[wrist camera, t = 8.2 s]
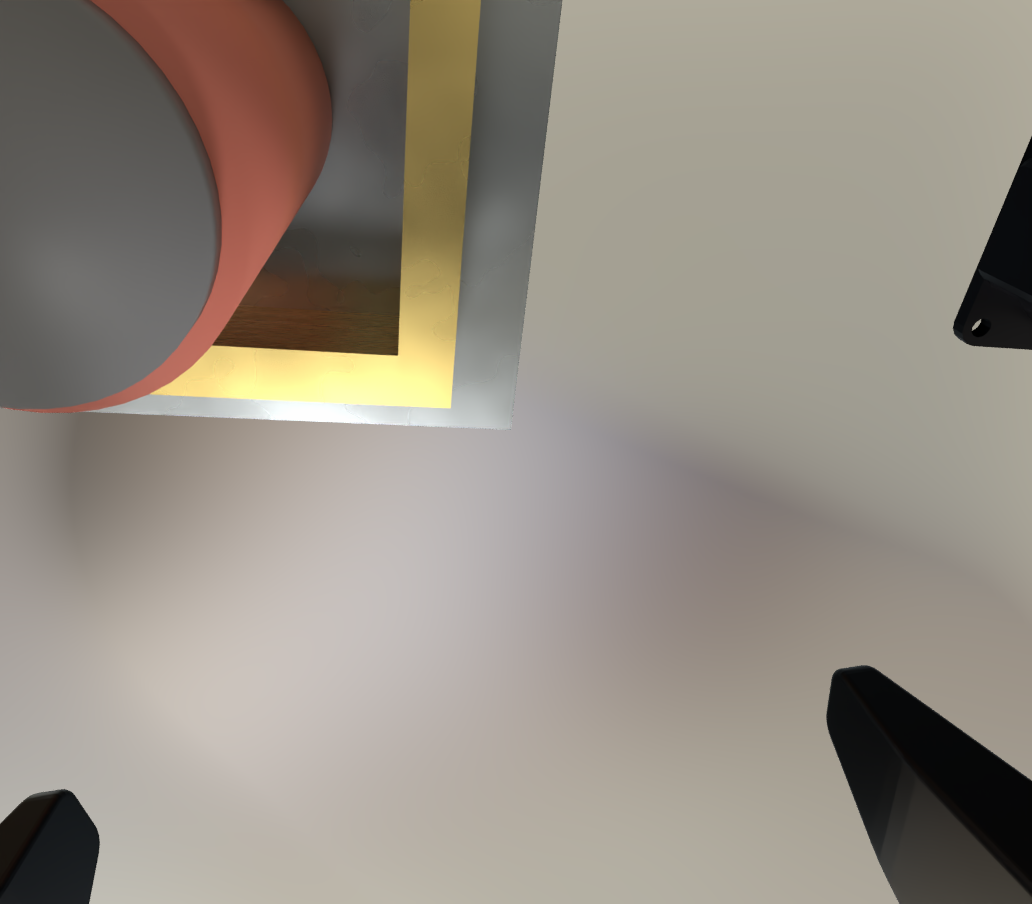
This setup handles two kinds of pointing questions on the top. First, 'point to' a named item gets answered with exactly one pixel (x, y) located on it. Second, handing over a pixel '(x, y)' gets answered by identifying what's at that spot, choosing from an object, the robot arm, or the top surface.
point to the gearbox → (398, 228)
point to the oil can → (142, 184)
